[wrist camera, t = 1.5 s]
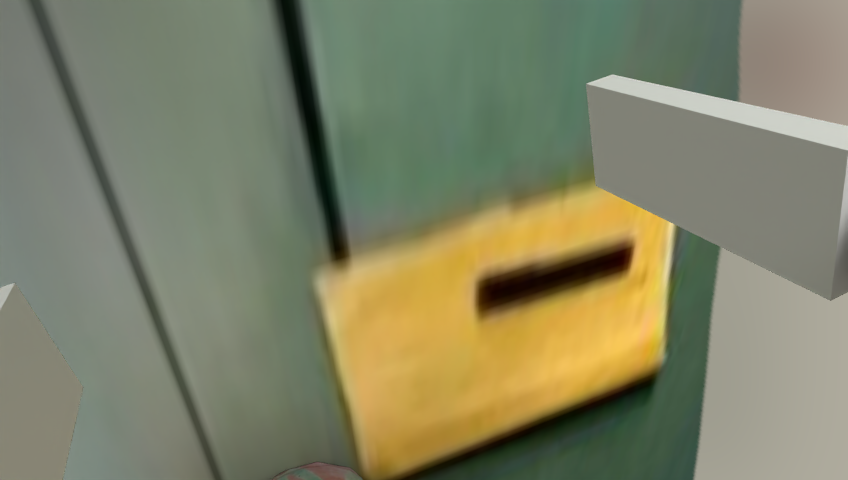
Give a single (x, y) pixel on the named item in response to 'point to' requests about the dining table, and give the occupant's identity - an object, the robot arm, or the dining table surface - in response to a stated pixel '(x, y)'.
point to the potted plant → (319, 473)
